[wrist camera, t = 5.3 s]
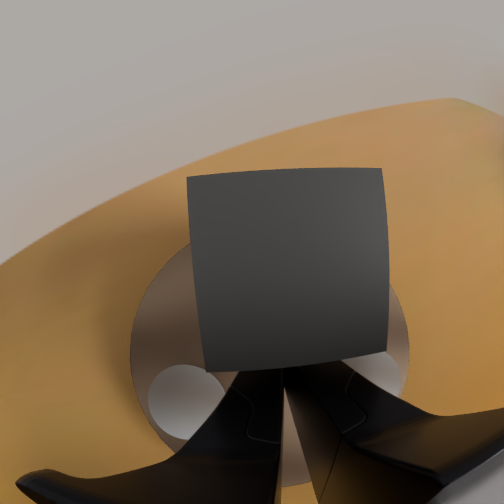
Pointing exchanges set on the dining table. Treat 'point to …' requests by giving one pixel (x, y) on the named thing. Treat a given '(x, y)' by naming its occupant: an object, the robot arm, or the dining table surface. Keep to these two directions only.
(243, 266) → the folding leg
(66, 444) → the dining table surface
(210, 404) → the stool seat
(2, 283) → the dining table surface
